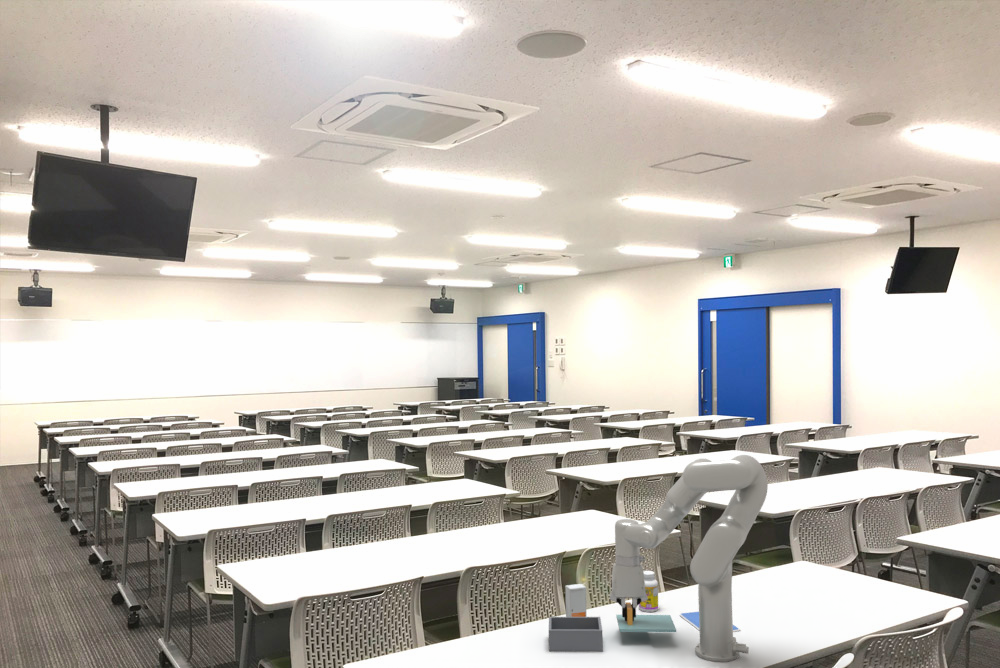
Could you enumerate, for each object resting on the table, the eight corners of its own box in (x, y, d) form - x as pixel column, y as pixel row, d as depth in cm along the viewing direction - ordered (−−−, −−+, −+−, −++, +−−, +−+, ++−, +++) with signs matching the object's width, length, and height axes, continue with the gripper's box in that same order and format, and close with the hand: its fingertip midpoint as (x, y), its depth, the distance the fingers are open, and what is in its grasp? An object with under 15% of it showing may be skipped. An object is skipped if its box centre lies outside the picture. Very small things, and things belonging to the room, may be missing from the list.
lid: (670, 619, 242) (669, 599, 243) (676, 634, 229) (675, 612, 230) (616, 618, 244) (616, 598, 244) (619, 633, 231) (619, 612, 231)
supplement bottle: (635, 609, 265) (634, 572, 265) (646, 605, 269) (645, 568, 270) (651, 614, 260) (650, 576, 260) (662, 609, 265) (661, 572, 265)
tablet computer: (741, 633, 242) (741, 629, 242) (705, 637, 239) (704, 633, 239) (712, 613, 261) (712, 609, 261) (678, 617, 258) (678, 613, 258)
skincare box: (570, 625, 251) (569, 588, 251) (565, 621, 255) (564, 585, 256) (587, 623, 253) (586, 586, 253) (582, 619, 257) (581, 583, 257)
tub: (600, 639, 238) (600, 616, 238) (603, 654, 226) (602, 630, 226) (549, 639, 239) (549, 616, 239) (549, 654, 227) (548, 630, 227)
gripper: (651, 557, 241) (652, 615, 240) (602, 556, 242) (603, 615, 241) (654, 563, 233) (655, 624, 233) (603, 563, 234) (604, 623, 234)
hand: (629, 619), depth 237 cm, fingers closed on lid, 1 cm apart
